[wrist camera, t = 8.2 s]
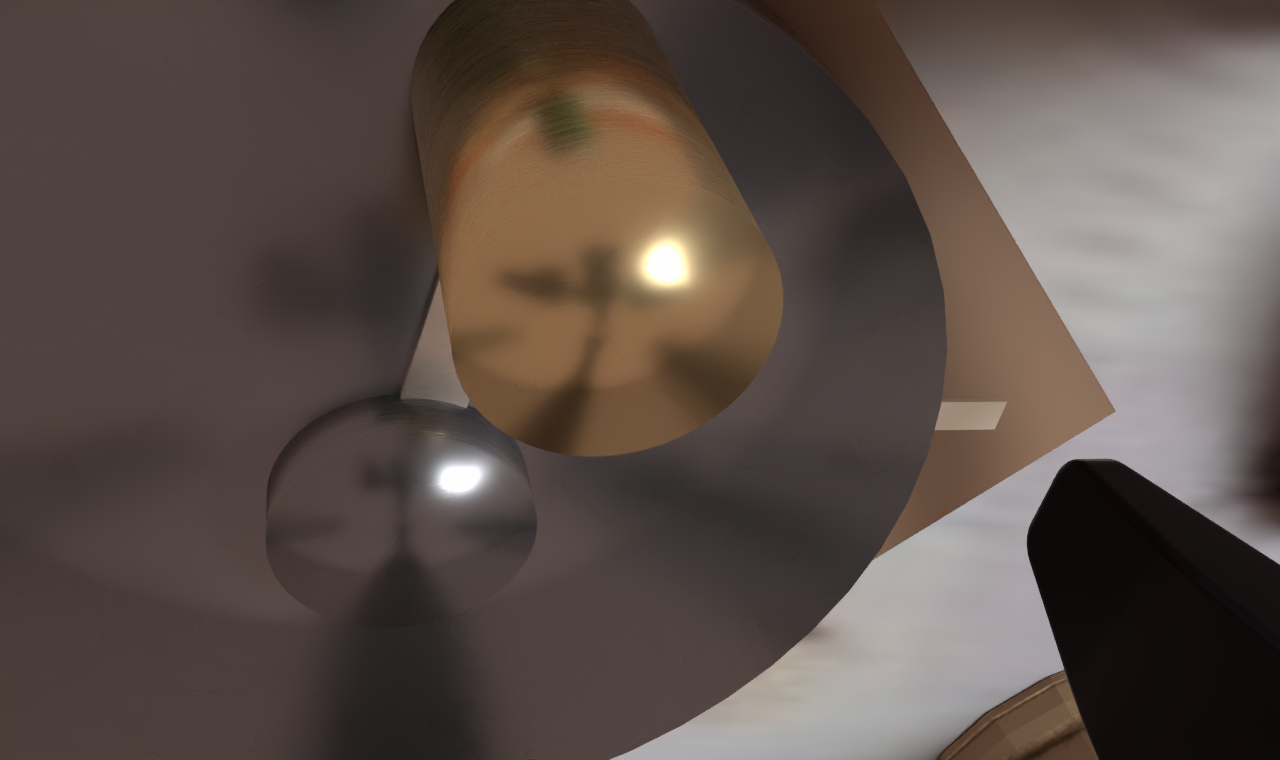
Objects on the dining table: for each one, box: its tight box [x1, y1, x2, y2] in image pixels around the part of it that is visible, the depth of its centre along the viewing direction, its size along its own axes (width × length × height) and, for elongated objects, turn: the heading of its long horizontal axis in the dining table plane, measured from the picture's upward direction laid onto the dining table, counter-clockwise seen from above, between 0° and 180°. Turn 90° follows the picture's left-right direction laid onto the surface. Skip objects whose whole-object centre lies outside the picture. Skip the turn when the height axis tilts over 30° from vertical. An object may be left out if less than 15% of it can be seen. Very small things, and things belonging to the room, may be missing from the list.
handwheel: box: [0, 0, 947, 760], centre depth 18 cm, size 18×18×6 cm
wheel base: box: [760, 0, 1115, 560], centre depth 22 cm, size 20×20×3 cm
